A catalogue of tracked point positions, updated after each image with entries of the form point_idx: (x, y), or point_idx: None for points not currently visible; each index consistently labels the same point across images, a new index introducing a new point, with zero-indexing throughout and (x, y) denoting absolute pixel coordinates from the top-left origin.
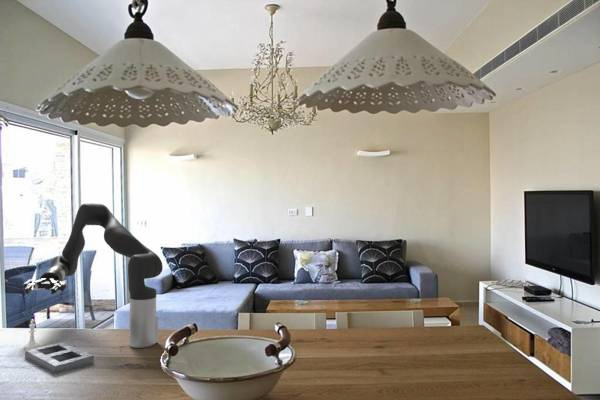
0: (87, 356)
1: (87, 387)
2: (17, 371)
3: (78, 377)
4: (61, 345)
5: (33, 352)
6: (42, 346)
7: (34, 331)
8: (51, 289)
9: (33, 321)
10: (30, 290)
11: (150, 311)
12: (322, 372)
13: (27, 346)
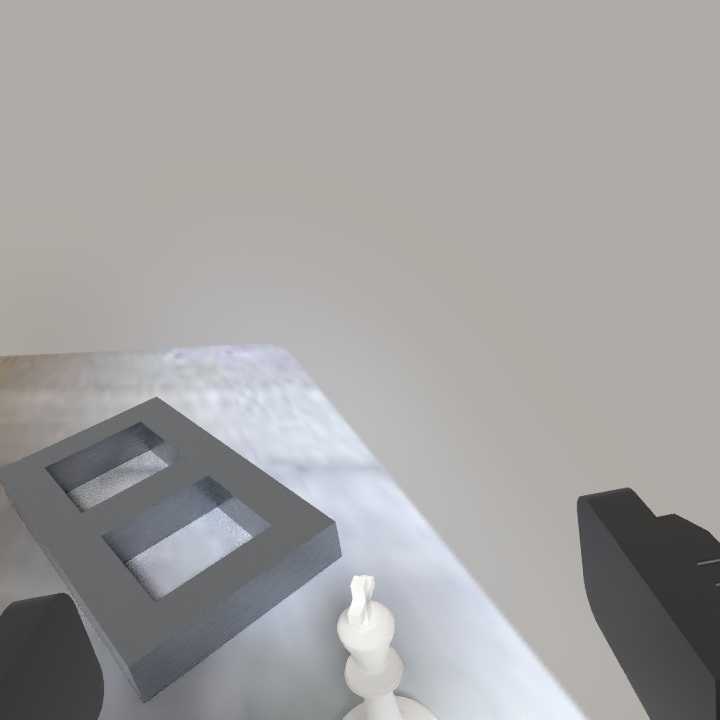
0: (24, 462)
1: (73, 373)
2: (309, 438)
3: (89, 411)
4: (134, 591)
5: (276, 497)
6: (251, 577)
7: (348, 660)
8: (65, 594)
9: (353, 606)
10: (660, 709)
11: None
12: None
13: (401, 699)
